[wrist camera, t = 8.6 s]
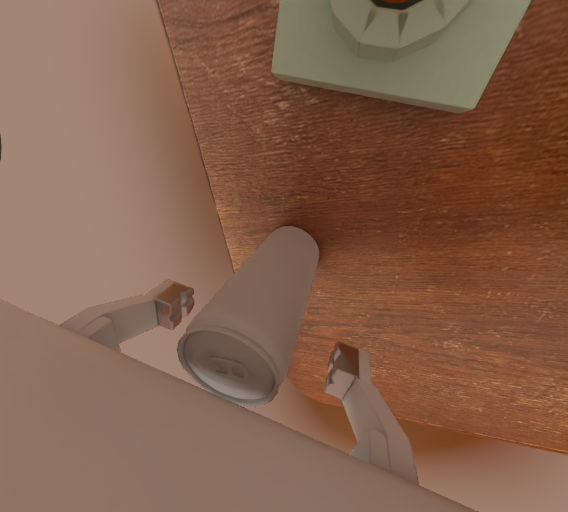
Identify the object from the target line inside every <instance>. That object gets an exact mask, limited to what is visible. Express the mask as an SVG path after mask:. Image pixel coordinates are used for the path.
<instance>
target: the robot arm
mask: <svg viewBox="0 0 568 512" xmlns="http://www.w3.org/2000/svg"><path fill="white" fill-rule="evenodd" d="M193 294H194V289H192V288H190V287H188V286H185V285H183V284H180V283H178V282H175V281H172V280H170V279H168V280H165V281H164V282H162V283H161V284H159V285H158V286H157V287H155V288H154V289H152V290H151V291H150V292H148V293H147V294H145V295H138V296H134V297H130V298H126V299H122V300H118V301H114V302H110V303H106V304H102V305H98V306H94V307H90V308H87V309H85V310H83V311H82V312H80V313H78V314H77V315H75V316H74V317H72V318H70V319H69V320H67V321H65V322H64V323H62V324H60V325H57V324H55V323H53V322H51V321H48V320H46V319H44V318H42V317H39V316H37V315H35V314H33V313H30V312H28V311H26V310H24V309H22V308H19V307H17V306H15V305H13V304H10V303H8V302H6V301H4V300H2V299H0V512H478V511H475V510H473V509H471V508H469V507H466V506H464V505H462V504H460V503H457V502H455V501H453V500H451V499H448V498H446V497H444V496H442V495H439V494H437V493H435V492H433V491H430V490H428V489H426V488H424V487H421V486H419V483H418V477H417V472H416V467H415V461H414V456H413V451H412V446H411V443H410V441H409V440H408V438H407V436H406V435H405V434H404V432H403V430H402V428H401V427H400V425H399V423H398V422H397V420H396V419H395V417H394V415H393V414H392V412H391V411H390V409H389V407H388V406H387V404H386V402H385V401H384V399H383V398H382V396H381V394H380V393H379V391H378V390H377V388H376V386H375V385H373V384H372V383H371V370H370V358H369V353H368V352H366V351H363V350H361V349H357V348H355V347H352V346H350V345H347V344H344V343H341V342H337V343H336V345H335V349H334V351H333V352H332V353H331V356H330V358H329V362H328V368H327V371H328V376H327V378H326V385H325V393H327V394H329V395H332V396H334V397H336V398H339V399H341V400H342V403H343V405H344V408H345V411H346V413H347V416H348V418H349V421H350V424H351V426H352V428H353V432H354V434H355V437H356V439H357V442H358V444H357V445H356V446H355V447H354V448H353V450H352V451H351V452H350V453H349V454H347V453H345V452H343V451H340V450H338V449H336V448H334V447H332V446H329V445H327V444H325V443H322V442H320V441H318V440H316V439H313V438H311V437H309V436H307V435H305V434H302V433H300V432H298V431H295V430H293V429H291V428H289V427H287V426H284V425H282V424H280V423H278V422H275V421H273V420H271V419H269V418H266V417H264V416H262V415H260V414H257V413H255V412H253V411H250V410H248V409H246V408H244V407H242V406H239V405H237V404H235V403H233V402H230V401H228V400H226V399H224V398H221V397H219V396H217V395H215V394H212V393H210V392H208V391H206V390H203V389H201V388H199V387H197V386H194V385H192V384H190V383H188V382H185V381H183V380H181V379H179V378H176V377H174V376H172V375H170V374H167V373H165V372H163V371H161V370H158V369H156V368H154V367H152V366H149V365H147V364H145V363H143V362H140V361H138V360H136V359H133V358H131V357H129V356H127V355H125V354H122V353H121V350H120V346H119V343H122V342H124V341H126V340H128V339H131V338H133V337H135V336H137V335H140V334H142V333H144V332H146V331H148V330H150V329H153V328H155V327H157V326H158V325H159V326H162V327H165V328H168V329H170V330H173V329H174V328H175V327H176V326H177V325H178V324H179V323H180V322H181V319H182V317H185V316H187V315H188V314H189V313H190V312H191V310H192V308H193V306H194V299H193V297H192V295H193Z"/></svg>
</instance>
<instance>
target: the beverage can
mask: <svg viewBox="0 0 568 512" xmlns="http://www.w3.org/2000/svg"><path fill="white" fill-rule="evenodd" d="M318 260H319V248H318V246H317V243H316V242H315V240H314V239H313V238H312V236H310V235H309V234H308V233H307V232H305V231H303V230H302V229H300V228H297V227H293V226H283V227H280V228H278V229H276V230H275V231H273V232H272V233H271V234H270V235H269V236H268V237H267V238H266V239H265V240H264V242H263V243H262V244H261V245H260V246H259V247H258V248H257V249H256V250H255V251H254V253H253V254H252V255H251V256H250V257H249V258H248V259H247V260H246V261H245V262H244V264H243V265H242V266H241V267H240V268H239V269H238V270H237V271H236V272H235V273H234V275H233V276H232V277H231V278H230V279H229V280H228V281H227V282H226V283H225V284H224V286H223V287H222V288H221V289H220V290H219V291H218V292H217V293H216V294H215V296H214V297H213V298H212V299H211V300H210V301H209V302H208V303H207V304H206V305H205V306H204V308H203V309H202V310H201V311H200V312H199V313H198V314H197V315H196V316H195V317H194V319H193V320H192V321H191V323H190V324H189V326H188V327H187V329H186V333H185V334H184V335H183V336H182V337H181V339H180V340H179V342H178V348H177V352H178V357H179V360H180V362H181V364H182V366H183V368H184V370H185V371H186V372H187V373H188V375H189V376H190V377H191V378H192V379H193V380H194V381H195V382H196V383H197V384H198V385H199V386H201V387H202V388H203V389H205V390H206V391H208V392H210V393H212V394H215V395H217V396H219V397H221V398H224V399H226V400H228V401H230V402H233V403H235V404H237V405H242V406H254V407H255V406H260V405H265V404H267V403H268V402H270V401H272V400H273V399H274V397H275V396H276V395H277V393H278V389H279V386H280V385H281V384H282V382H283V381H284V379H285V377H286V374H287V371H288V367H289V363H290V360H291V356H292V353H293V349H294V346H295V342H296V339H297V335H298V331H299V328H300V324H301V321H302V317H303V314H304V310H305V306H306V303H307V299H308V296H309V292H310V289H311V285H312V282H313V278H314V274H315V271H316V267H317V264H318Z"/></svg>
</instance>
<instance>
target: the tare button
mask: <svg viewBox="0 0 568 512" xmlns="http://www.w3.org/2000/svg"><path fill="white" fill-rule="evenodd" d="M383 1H385V2H389V3H403V2H407V1H410V0H383Z"/></svg>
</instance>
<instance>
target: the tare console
mask: <svg viewBox="0 0 568 512" xmlns="http://www.w3.org/2000/svg"><path fill="white" fill-rule="evenodd" d="M530 2H531V0H410V1H407V2H403V3H389V2H385V1H383V0H280V3H279V11H278V19H277V27H276V35H275V43H274V51H273V59H272V68H271V73H272V74H273V75H275V76H276V77H277V78H278V79H279V80H282V81H287V82H292V83H298V84H303V85H308V86H314V87H319V88H324V89H330V90H335V91H340V92H346V93H351V94H356V95H362V96H367V97H372V98H378V99H383V100H388V101H394V102H399V103H404V104H410V105H415V106H420V107H426V108H431V109H436V110H442V111H447V112H452V113H458V114H459V113H463V112H466V111H470V110H473V109H474V108H475V106H476V104H477V102H478V101H479V99H480V97H481V95H482V93H483V91H484V89H485V87H486V85H487V83H488V82H489V80H490V78H491V76H492V74H493V72H494V70H495V68H496V66H497V65H498V63H499V61H500V59H501V57H502V55H503V53H504V51H505V49H506V48H507V46H508V44H509V42H510V40H511V38H512V36H513V34H514V32H515V31H516V29H517V27H518V25H519V23H520V21H521V19H522V17H523V15H524V13H525V12H526V10H527V8H528V6H529V4H530Z"/></svg>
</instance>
